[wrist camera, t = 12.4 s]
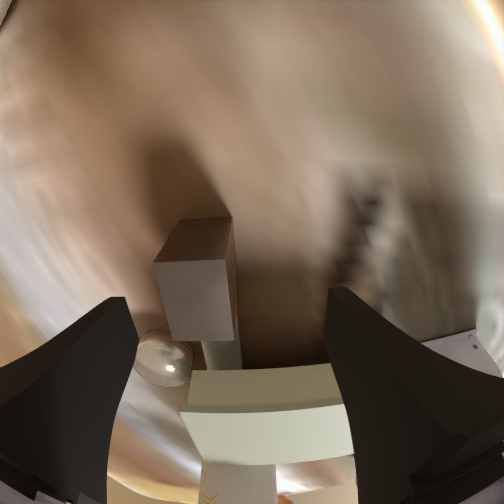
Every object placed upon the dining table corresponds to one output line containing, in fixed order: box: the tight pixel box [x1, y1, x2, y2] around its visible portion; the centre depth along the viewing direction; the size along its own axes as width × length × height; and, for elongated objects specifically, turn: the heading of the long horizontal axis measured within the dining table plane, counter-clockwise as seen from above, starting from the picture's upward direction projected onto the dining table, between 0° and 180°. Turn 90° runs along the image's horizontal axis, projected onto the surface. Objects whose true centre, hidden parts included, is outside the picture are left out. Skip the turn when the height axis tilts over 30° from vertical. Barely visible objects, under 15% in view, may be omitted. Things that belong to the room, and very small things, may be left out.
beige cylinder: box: [198, 459, 278, 504], centre depth 25 cm, size 8×8×12 cm
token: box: [133, 330, 194, 387], centre depth 23 cm, size 5×5×2 cm
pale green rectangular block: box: [179, 363, 354, 465], centre depth 21 cm, size 17×10×8 cm, turn 93°
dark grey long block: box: [153, 217, 243, 370], centre depth 19 cm, size 4×16×6 cm, turn 3°
